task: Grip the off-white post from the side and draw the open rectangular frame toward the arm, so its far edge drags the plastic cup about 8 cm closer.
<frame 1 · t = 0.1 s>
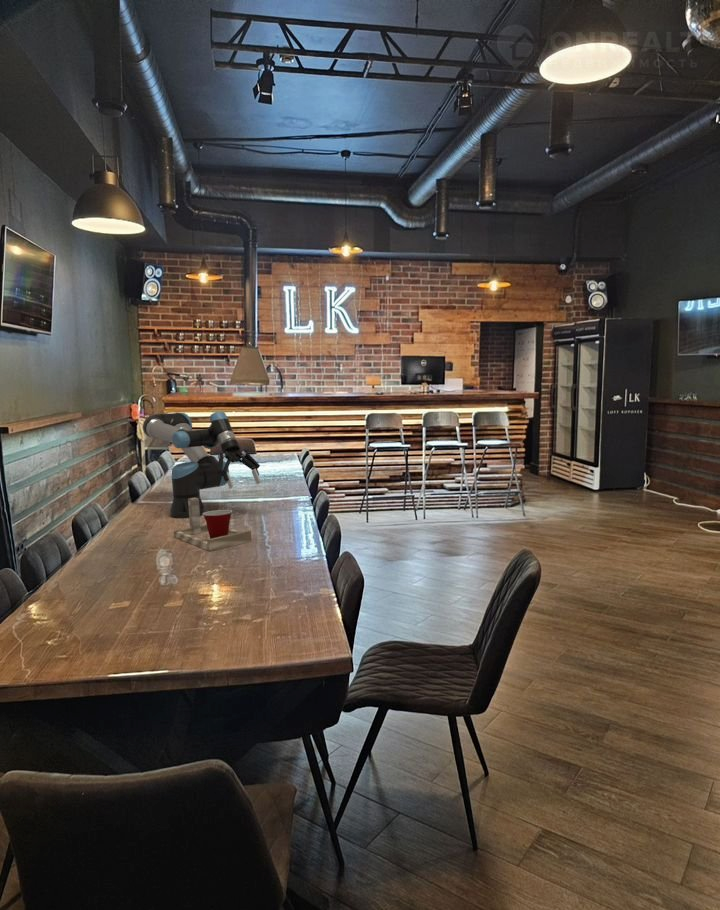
hand: (245, 485, 252), 15 cm above the table, tool tilted 35°, fingers open, 13 cm apart
open rectangular frame: (210, 521, 221), point 7 cm above the table, slide at 0.0 cm
plastic cup: (219, 542, 218), resting in open rectangular frame
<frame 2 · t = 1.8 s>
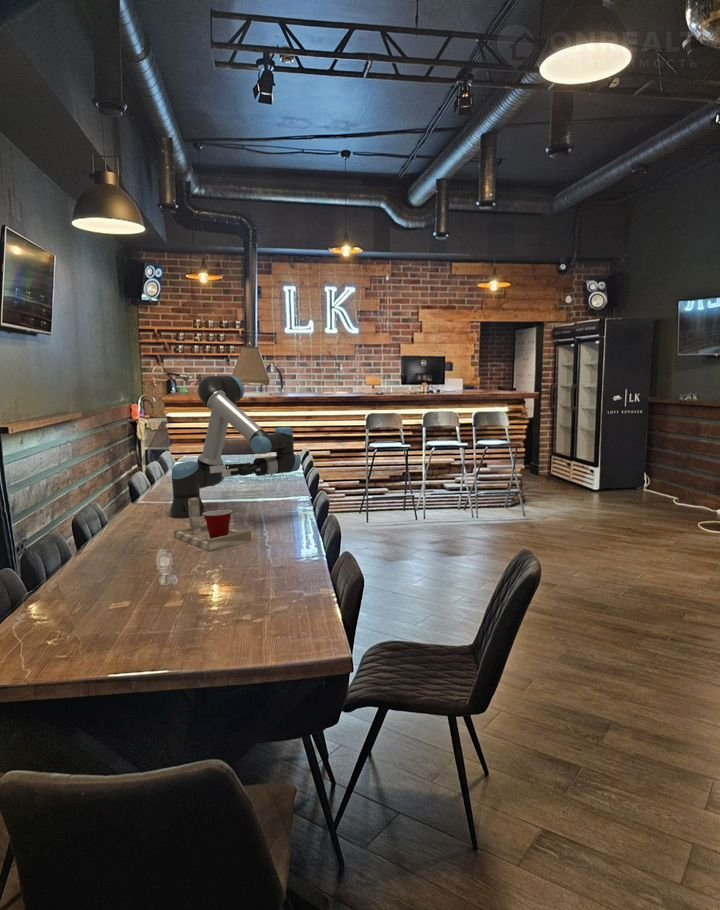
hand: (215, 471, 233), 24 cm above the table, tool horizontal, fingers open, 13 cm apart
nothing on the table moved.
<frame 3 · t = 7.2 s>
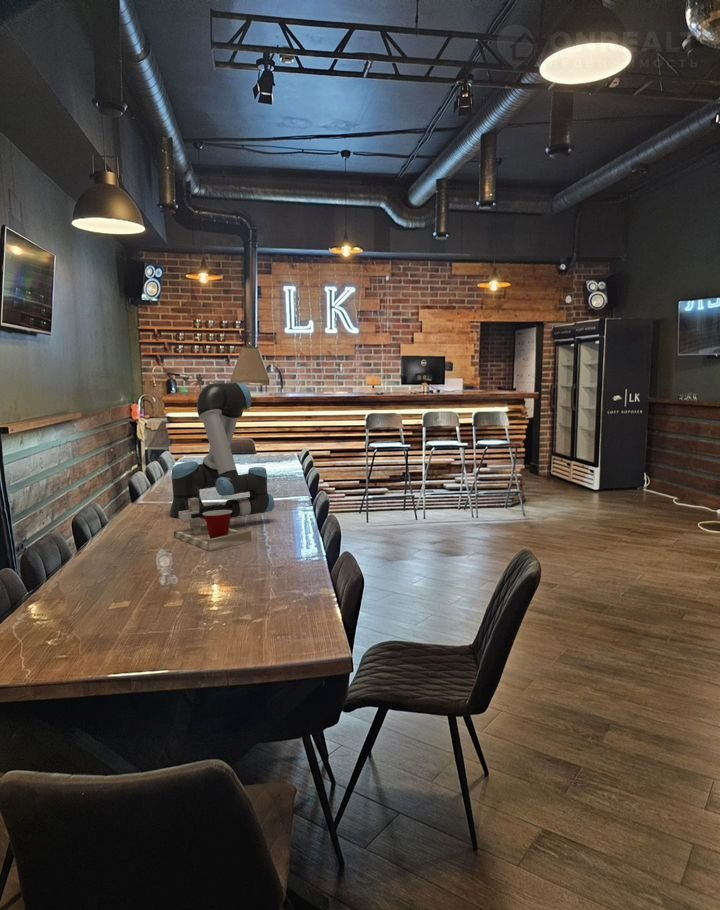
hand: (180, 516, 227), 8 cm above the table, tool horizontal, fingers closed on open rectangular frame, 3 cm apart
open rectangular frame: (210, 521, 221), point 7 cm above the table, slide at 0.0 cm, touching gripper
everything else where it was.
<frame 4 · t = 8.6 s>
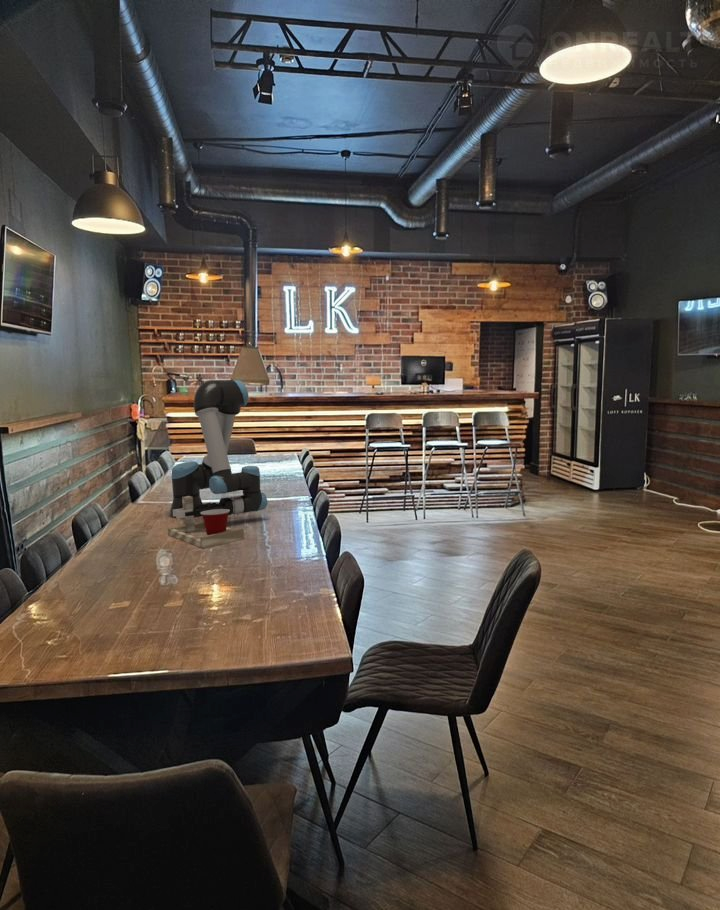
hand: (174, 514, 231), 8 cm above the table, tool horizontal, fingers closed on open rectangular frame, 3 cm apart
open rectangular frame: (204, 519, 225), point 7 cm above the table, slide at 5.0 cm, touching gripper, plastic cup
plastic cup: (216, 541, 220), resting in open rectangular frame
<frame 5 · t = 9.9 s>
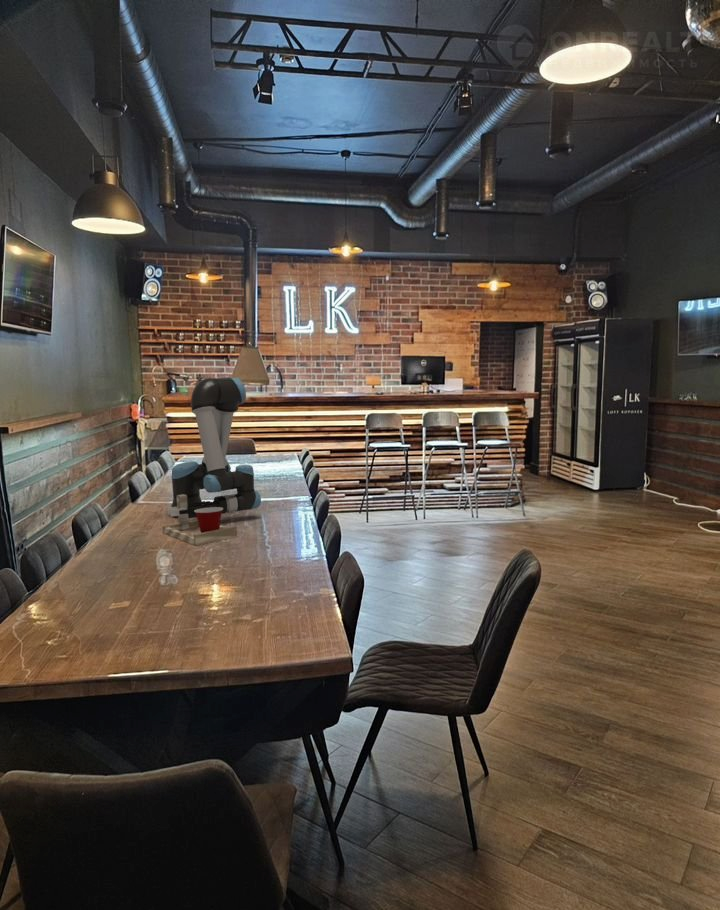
hand: (169, 512, 234), 8 cm above the table, tool horizontal, fingers closed on open rectangular frame, 3 cm apart
open rectangular frame: (197, 517, 228), point 7 cm above the table, slide at 9.9 cm, touching gripper, plastic cup
plastic cup: (210, 539, 223), resting in open rectangular frame
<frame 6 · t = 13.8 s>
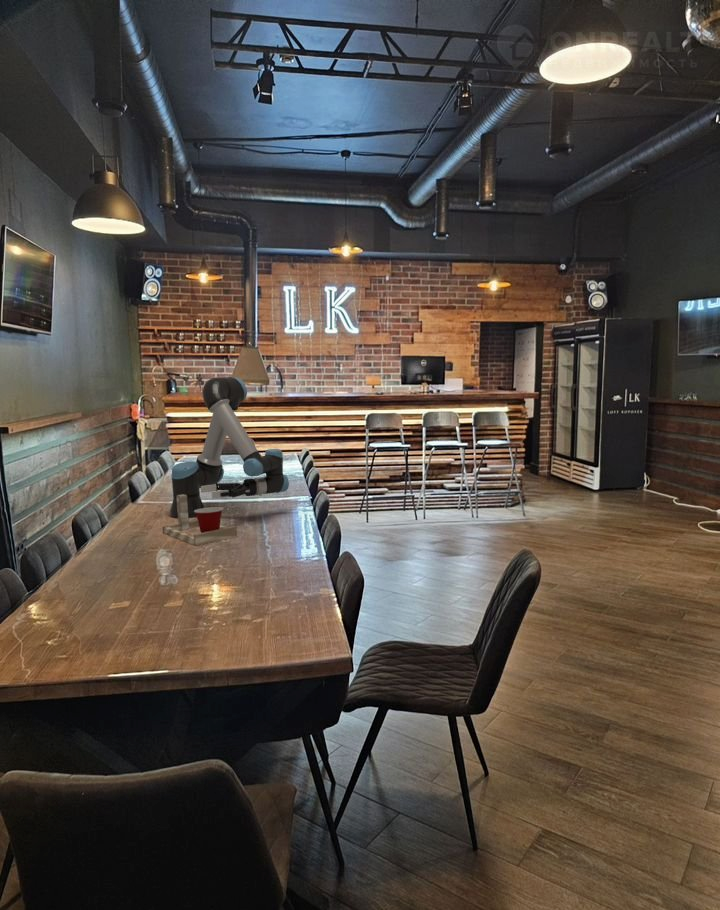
hand: (206, 492, 242), 14 cm above the table, tool horizontal, fingers open, 13 cm apart
open rectangular frame: (197, 517, 228), point 7 cm above the table, slide at 9.9 cm
plastic cup: (210, 539, 223), resting in open rectangular frame
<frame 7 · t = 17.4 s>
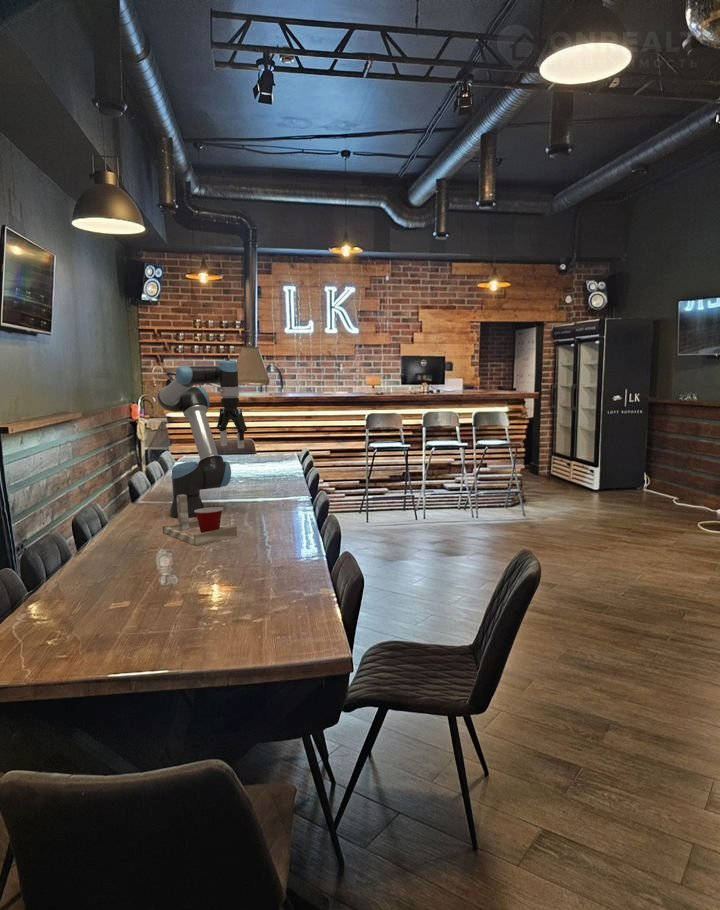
hand: (232, 447, 250), 32 cm above the table, tool pointing down, fingers open, 13 cm apart
nothing on the table moved.
at the end: open rectangular frame slide at 9.9 cm; plastic cup moved 6.7 cm from its start; plastic cup tilted 0° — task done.
